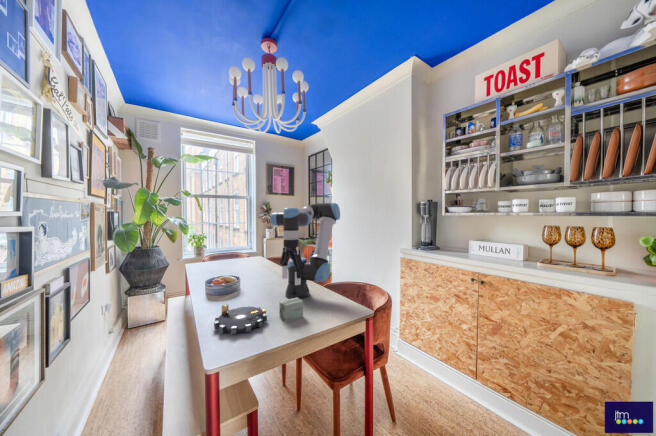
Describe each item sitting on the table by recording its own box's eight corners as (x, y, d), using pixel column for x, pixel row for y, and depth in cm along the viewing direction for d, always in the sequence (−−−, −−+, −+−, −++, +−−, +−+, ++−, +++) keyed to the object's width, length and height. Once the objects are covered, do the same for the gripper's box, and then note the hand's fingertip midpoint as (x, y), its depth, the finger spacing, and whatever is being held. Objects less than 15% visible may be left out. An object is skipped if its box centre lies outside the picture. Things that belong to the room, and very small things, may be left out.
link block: (279, 317, 113) (279, 301, 113) (297, 312, 119) (297, 297, 119) (284, 322, 108) (284, 305, 108) (303, 316, 114) (303, 300, 114)
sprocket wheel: (202, 331, 97) (202, 315, 97) (233, 309, 120) (233, 296, 120) (251, 336, 93) (251, 319, 93) (274, 313, 116) (274, 299, 116)
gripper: (310, 240, 105) (310, 286, 105) (286, 236, 125) (286, 275, 125) (296, 241, 101) (296, 289, 101) (273, 237, 120) (273, 277, 121)
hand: (291, 281), depth 113 cm, fingers open, 13 cm apart
